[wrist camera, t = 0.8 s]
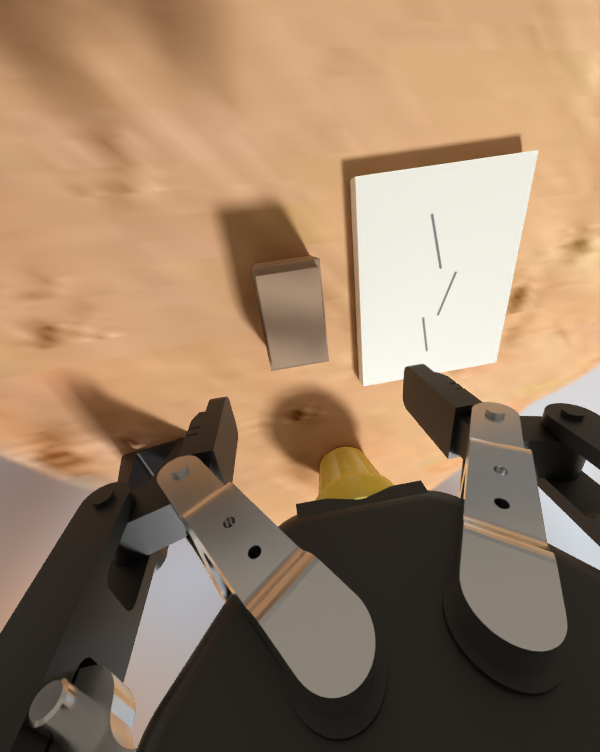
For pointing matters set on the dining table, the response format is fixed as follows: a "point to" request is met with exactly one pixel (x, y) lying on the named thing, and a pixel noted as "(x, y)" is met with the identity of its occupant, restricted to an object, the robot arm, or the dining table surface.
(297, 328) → the block
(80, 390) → the dining table surface
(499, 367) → the dining table surface
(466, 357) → the board
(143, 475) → the phone stand
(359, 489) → the plant pot
